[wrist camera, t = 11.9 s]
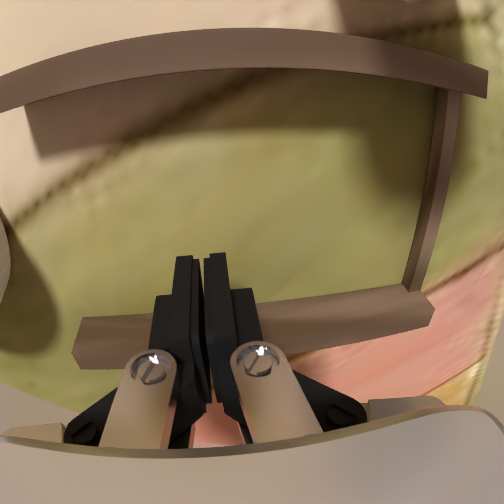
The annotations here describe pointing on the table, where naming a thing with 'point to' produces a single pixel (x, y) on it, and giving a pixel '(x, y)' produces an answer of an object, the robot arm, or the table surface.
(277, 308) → the walnut open-sided frame
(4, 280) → the ramekin
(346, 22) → the table surface
